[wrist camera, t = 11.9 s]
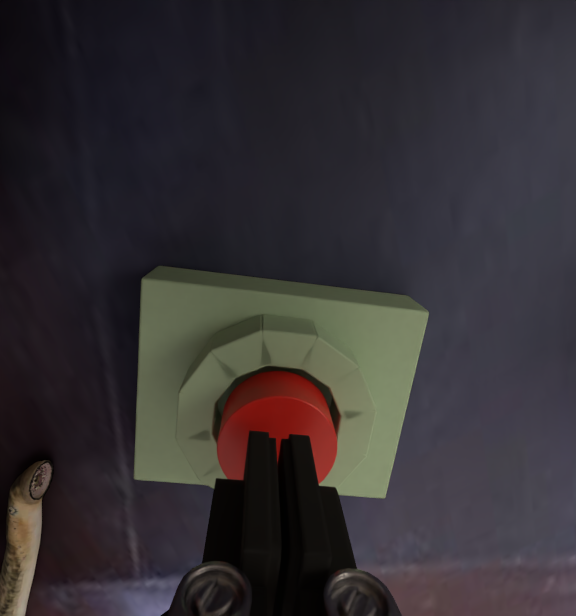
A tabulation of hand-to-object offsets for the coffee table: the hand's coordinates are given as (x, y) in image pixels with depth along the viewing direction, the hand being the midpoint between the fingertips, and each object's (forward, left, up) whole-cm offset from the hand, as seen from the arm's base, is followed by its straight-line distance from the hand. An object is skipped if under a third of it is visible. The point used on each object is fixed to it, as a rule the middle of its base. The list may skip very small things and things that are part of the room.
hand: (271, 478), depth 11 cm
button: (0, 0, -3) cm, 3 cm away
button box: (0, 0, -6) cm, 6 cm away
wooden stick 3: (+16, -10, -6) cm, 20 cm away
